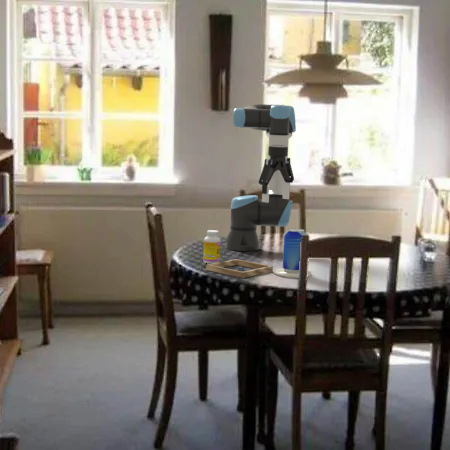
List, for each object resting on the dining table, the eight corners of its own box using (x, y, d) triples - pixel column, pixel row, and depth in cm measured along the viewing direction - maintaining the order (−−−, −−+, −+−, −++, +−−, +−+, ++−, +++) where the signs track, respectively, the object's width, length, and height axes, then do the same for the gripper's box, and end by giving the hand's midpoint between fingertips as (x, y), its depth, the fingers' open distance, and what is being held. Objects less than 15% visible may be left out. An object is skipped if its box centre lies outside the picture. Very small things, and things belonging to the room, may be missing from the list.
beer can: (279, 272, 297) (281, 230, 295) (286, 268, 305) (288, 227, 303) (301, 274, 294) (303, 232, 292) (307, 270, 302) (309, 229, 300)
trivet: (288, 268, 309) (288, 266, 309) (318, 274, 300) (318, 272, 300) (266, 273, 299) (266, 271, 299) (296, 280, 290) (297, 277, 290)
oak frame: (236, 264, 315) (236, 259, 314) (272, 271, 303) (272, 266, 303) (206, 269, 301) (206, 264, 301) (242, 277, 290) (242, 272, 289)
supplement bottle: (217, 265, 311) (219, 232, 310) (201, 263, 313) (202, 231, 311) (221, 261, 318) (222, 230, 316) (205, 260, 319) (206, 229, 317)
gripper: (288, 143, 317) (286, 196, 321) (250, 146, 298) (248, 202, 302) (304, 145, 312) (301, 198, 316) (266, 148, 293) (264, 204, 297)
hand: (275, 200), depth 309 cm, fingers open, 13 cm apart
